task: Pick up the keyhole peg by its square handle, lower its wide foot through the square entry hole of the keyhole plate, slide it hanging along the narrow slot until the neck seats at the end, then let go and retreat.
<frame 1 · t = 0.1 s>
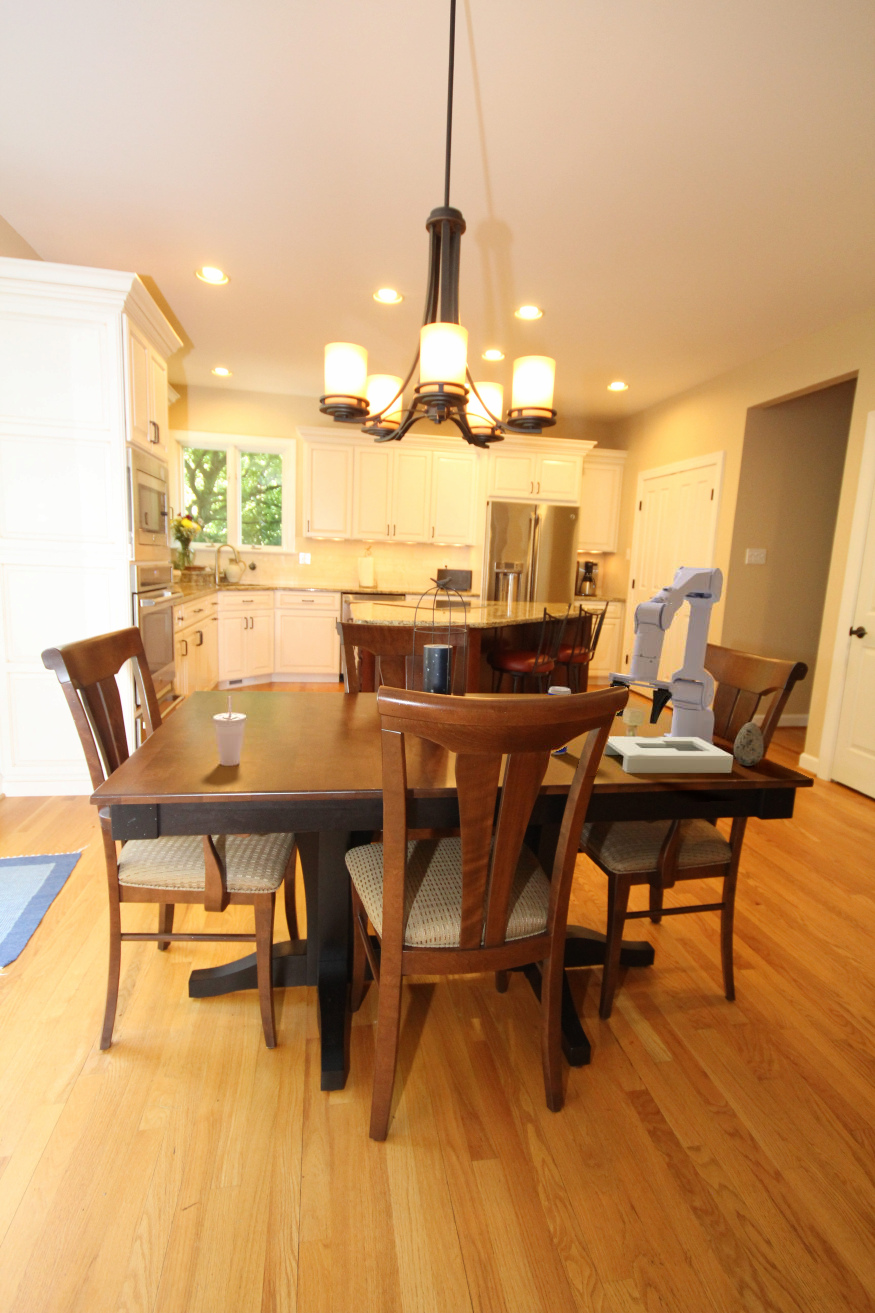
hand: (635, 719, 131), 11 cm above the table, tool pointing down, fingers open, 7 cm apart
keyhole peg: (630, 745, 149), on the table
keyhole plate: (663, 762, 137), on the table
smoothie: (230, 763, 123), on the table
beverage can: (554, 752, 140), on the table
decorative egg: (746, 766, 137), on the table
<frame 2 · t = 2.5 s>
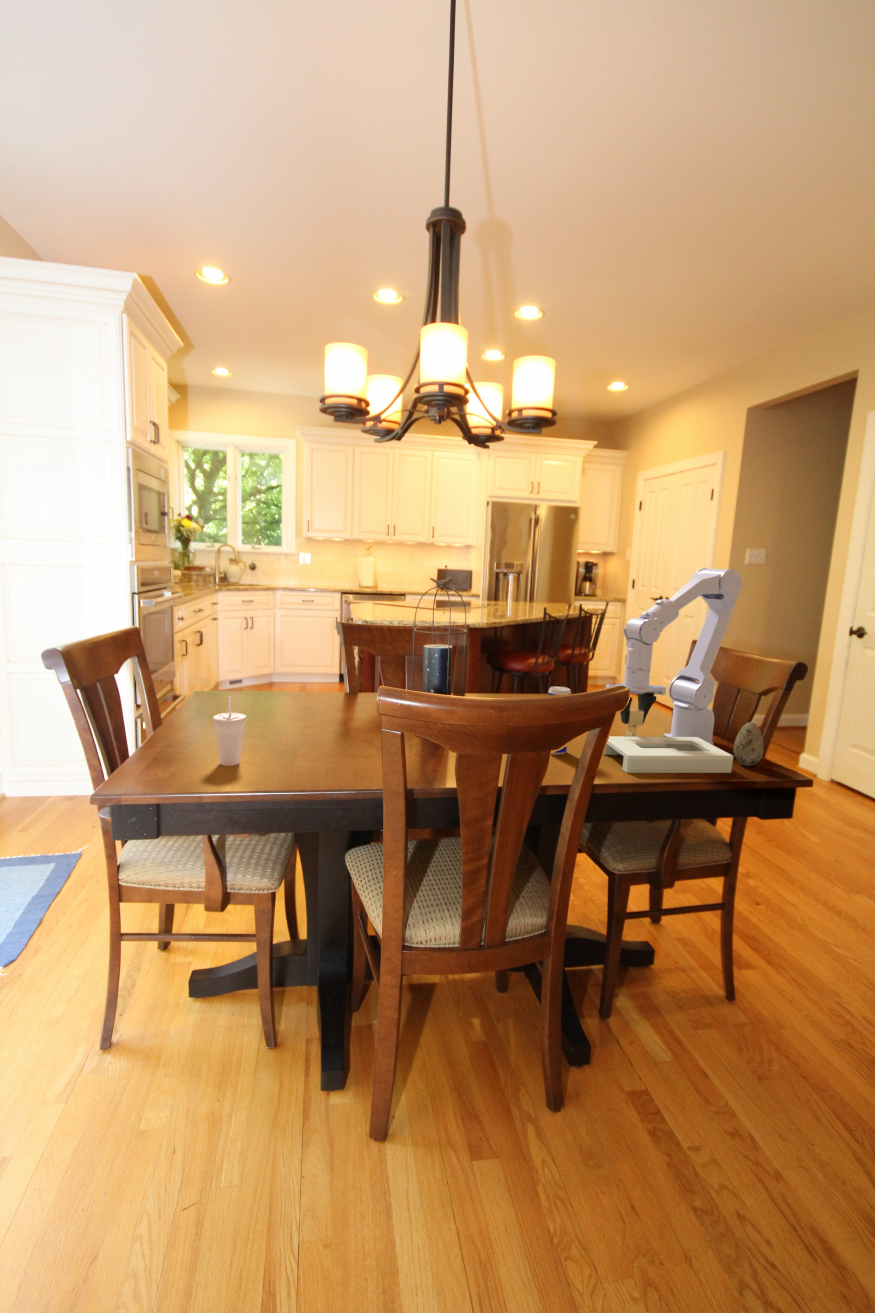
hand: (632, 723, 148), 6 cm above the table, tool pointing down, fingers closed on keyhole peg, 3 cm apart
keyhole peg: (630, 745, 149), on the table, touching gripper
everything else where it was.
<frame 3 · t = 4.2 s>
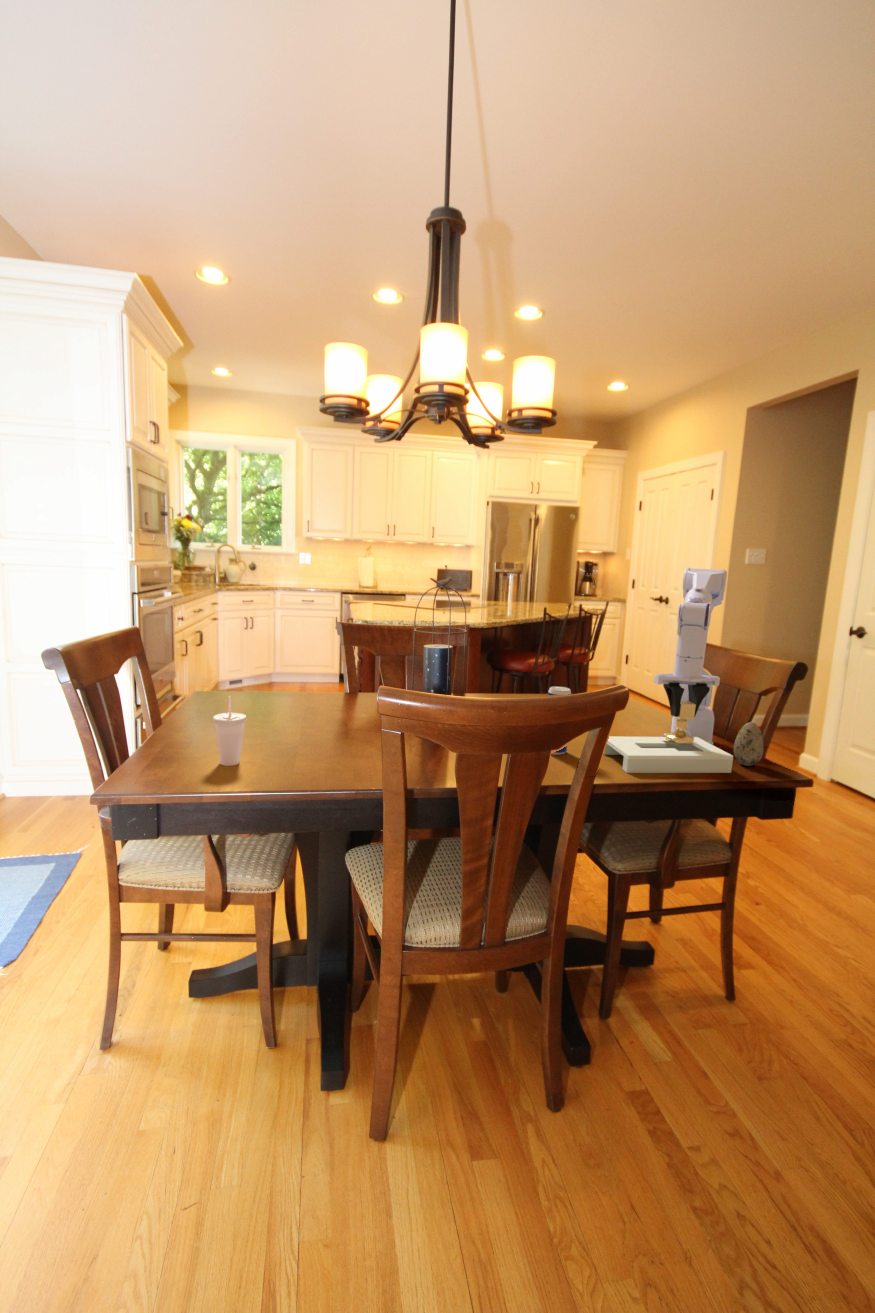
hand: (682, 715, 137), 10 cm above the table, tool pointing down, fingers closed on keyhole peg, 3 cm apart
keyhole peg: (679, 740, 138), point 5 cm above the table, touching gripper
everything else where it was.
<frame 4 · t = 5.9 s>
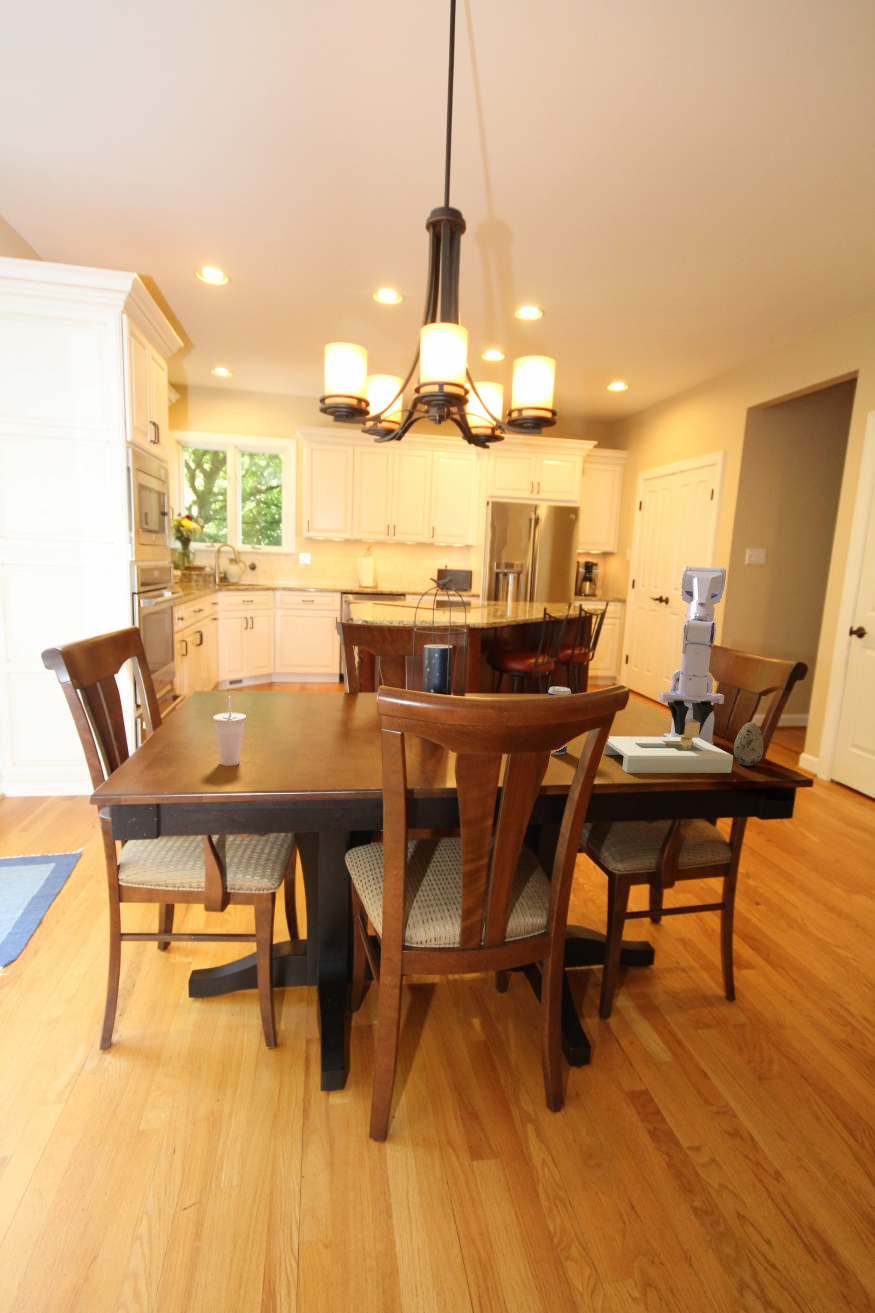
hand: (687, 733, 136), 7 cm above the table, tool pointing down, fingers closed on keyhole peg, 3 cm apart
keyhole peg: (683, 758, 138), point 1 cm above the table, touching gripper
everything else where it was.
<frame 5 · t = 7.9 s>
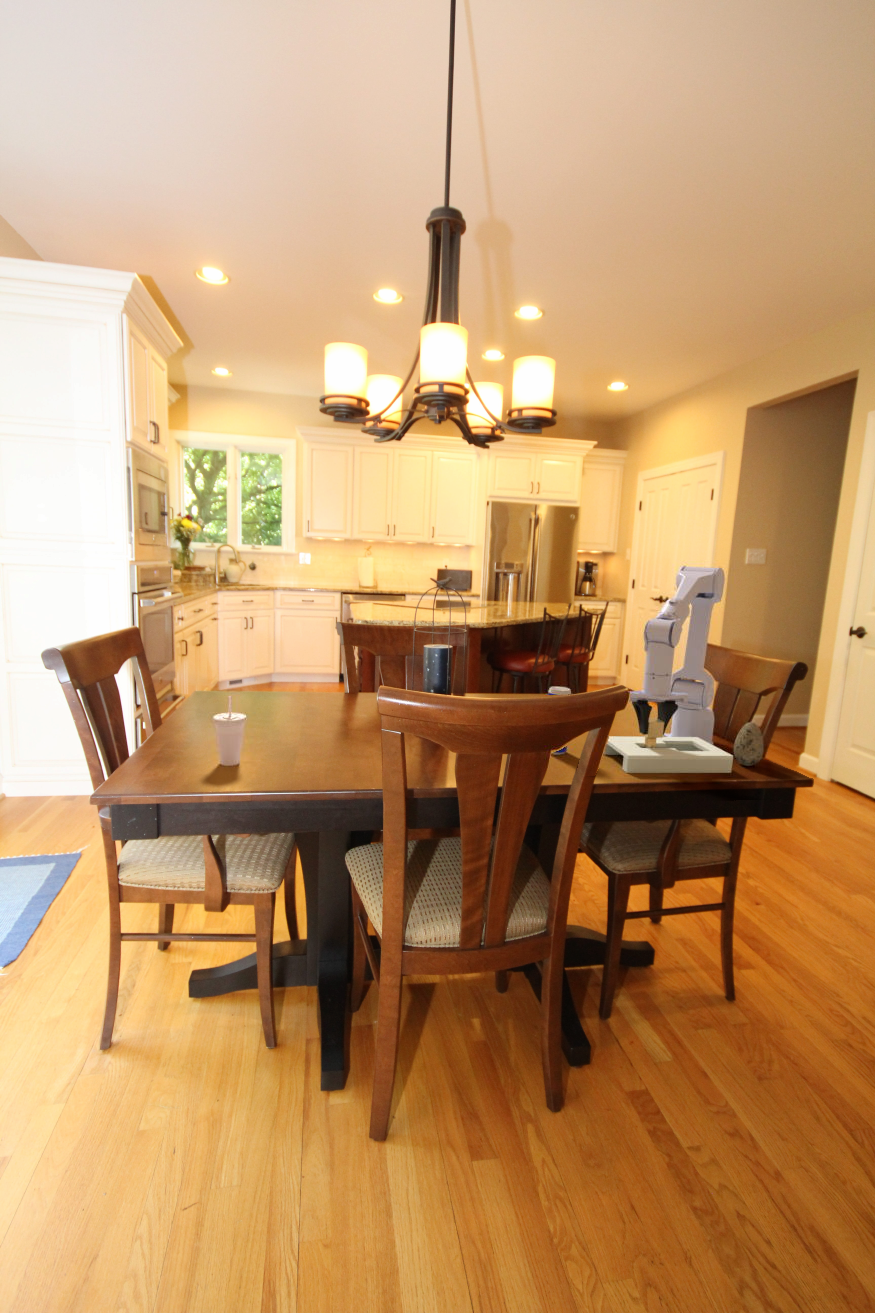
hand: (651, 733, 135), 7 cm above the table, tool pointing down, fingers closed on keyhole peg, 3 cm apart
keyhole peg: (648, 758, 136), point 1 cm above the table, touching gripper
everything else where it was.
when the fingers open (7 cm above the table, at t = 9.5 s): keyhole peg stays where it is, on the table.
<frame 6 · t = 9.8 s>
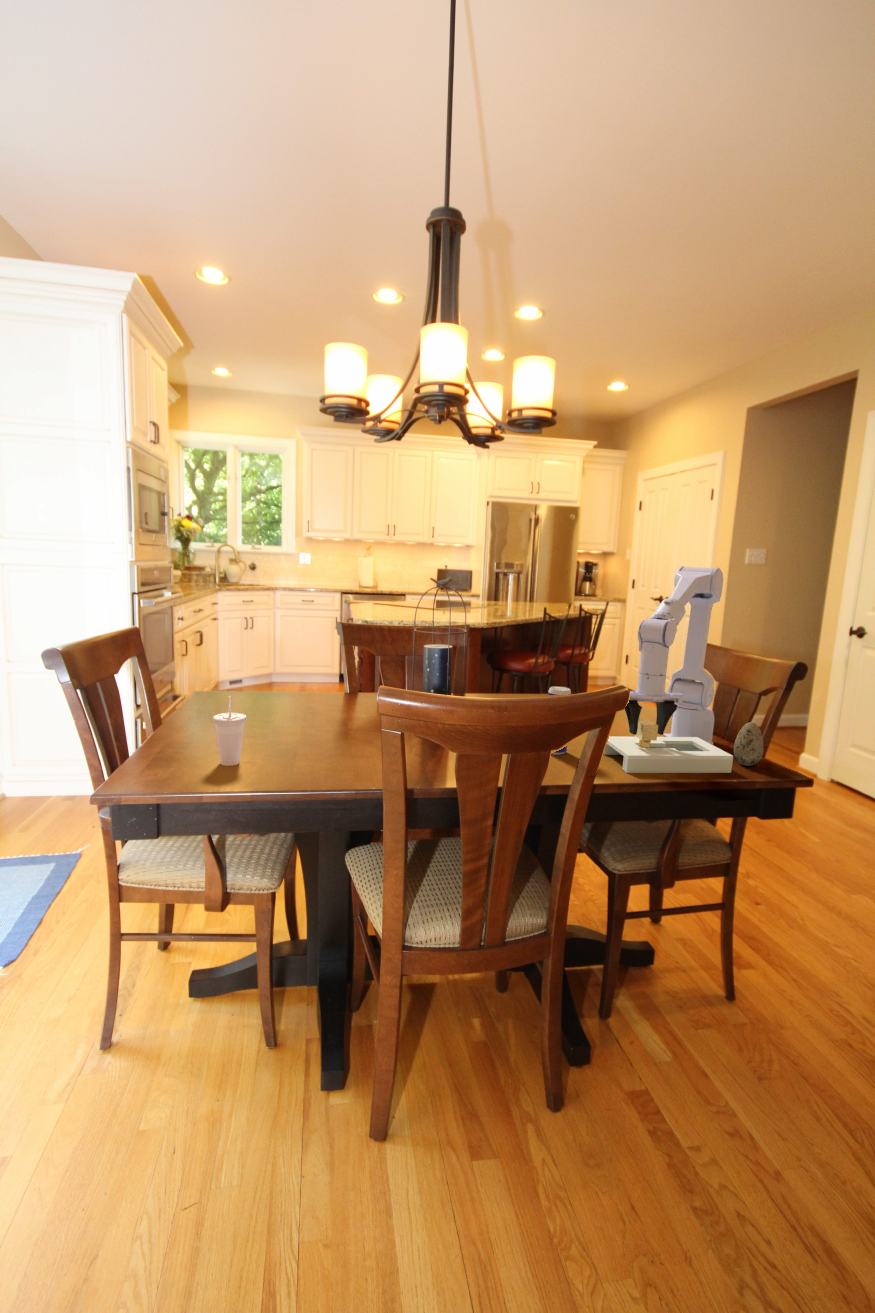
hand: (646, 733, 135), 7 cm above the table, tool pointing down, fingers open, 6 cm apart
keyhole peg: (642, 761, 136), on the table
everything else where it was.
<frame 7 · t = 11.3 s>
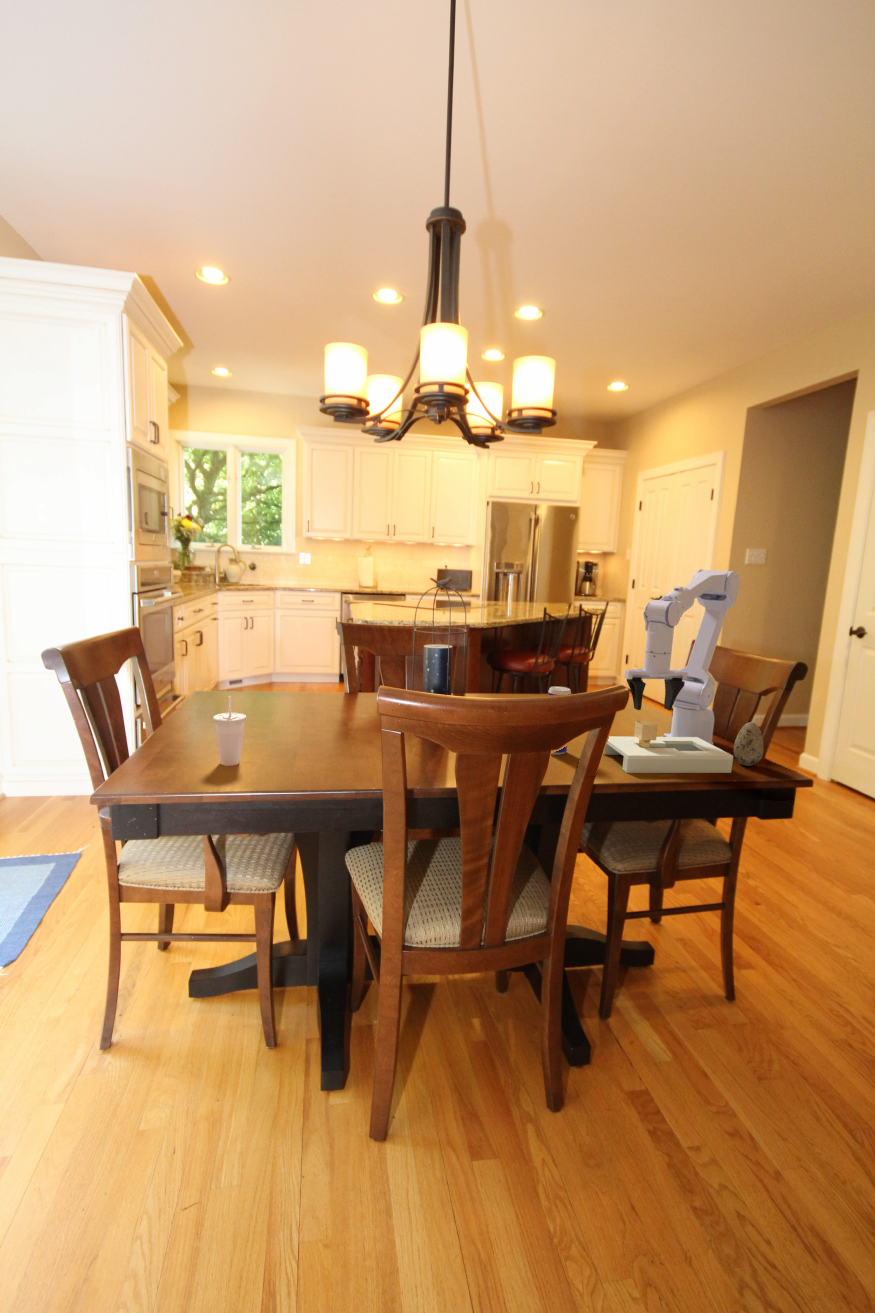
hand: (652, 709, 143), 10 cm above the table, tool pointing down, fingers open, 7 cm apart
nothing on the table moved.
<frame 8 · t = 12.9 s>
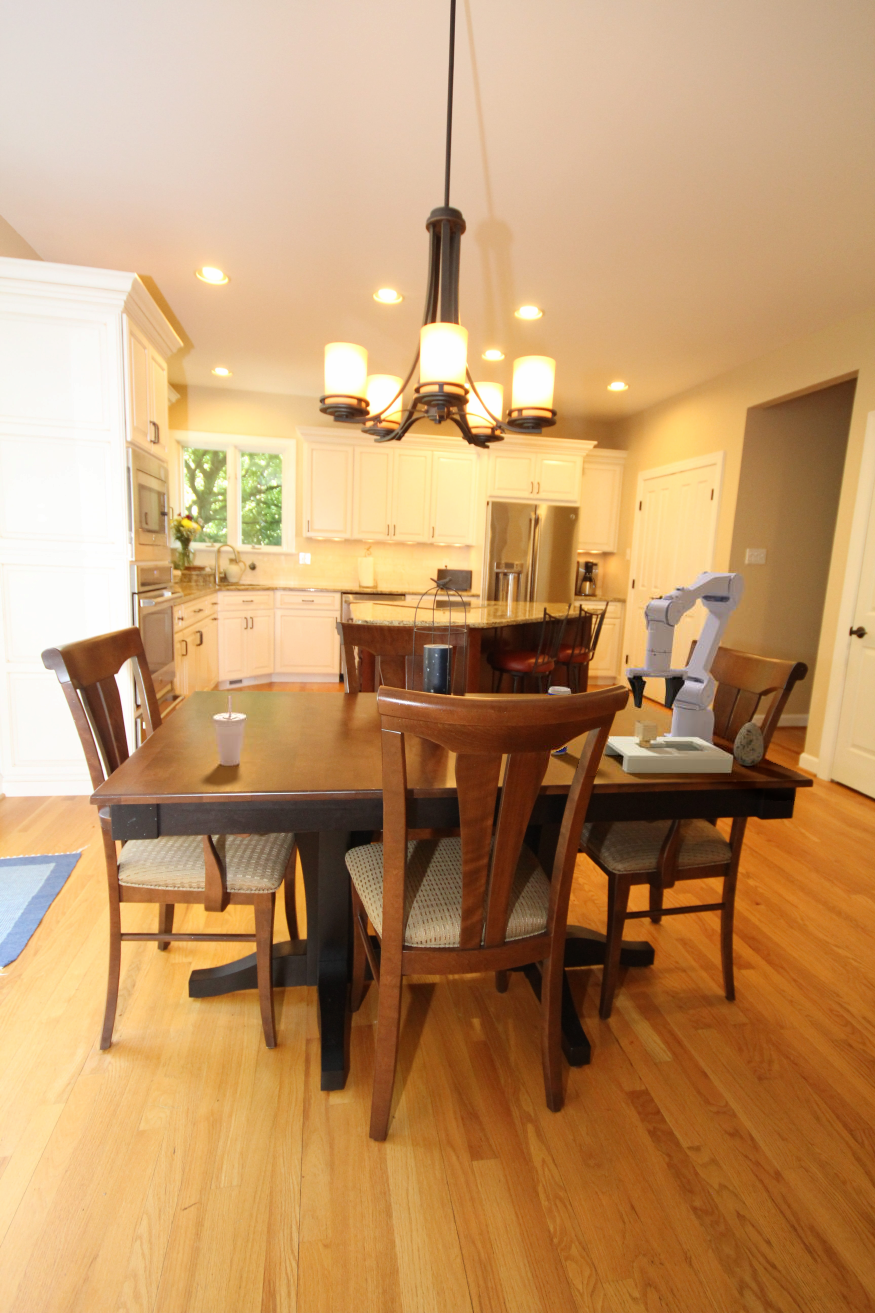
hand: (652, 707, 144), 10 cm above the table, tool pointing down, fingers open, 7 cm apart
nothing on the table moved.
at the end: keyhole peg 0.2 cm from the target spot on the keyhole plate, point 0.0 cm above the keyhole plate's base; keyhole peg tilted 0°; the gripper is holding nothing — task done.
